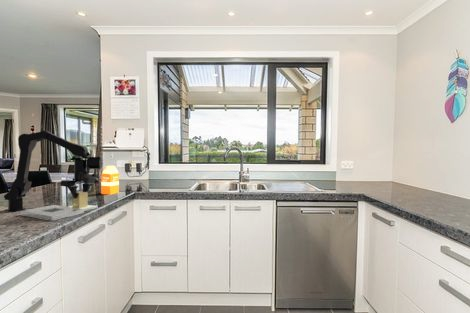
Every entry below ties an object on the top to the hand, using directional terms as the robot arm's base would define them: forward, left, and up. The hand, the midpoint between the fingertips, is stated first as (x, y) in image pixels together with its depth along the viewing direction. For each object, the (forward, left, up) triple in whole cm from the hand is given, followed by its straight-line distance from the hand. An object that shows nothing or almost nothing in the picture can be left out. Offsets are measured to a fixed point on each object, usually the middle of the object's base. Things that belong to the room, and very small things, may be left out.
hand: (80, 197), depth 143 cm
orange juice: (-24, +43, -6) cm, 50 cm away
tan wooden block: (0, 0, -5) cm, 5 cm away
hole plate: (-1, -14, -6) cm, 15 cm away
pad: (0, 0, -6) cm, 6 cm away
